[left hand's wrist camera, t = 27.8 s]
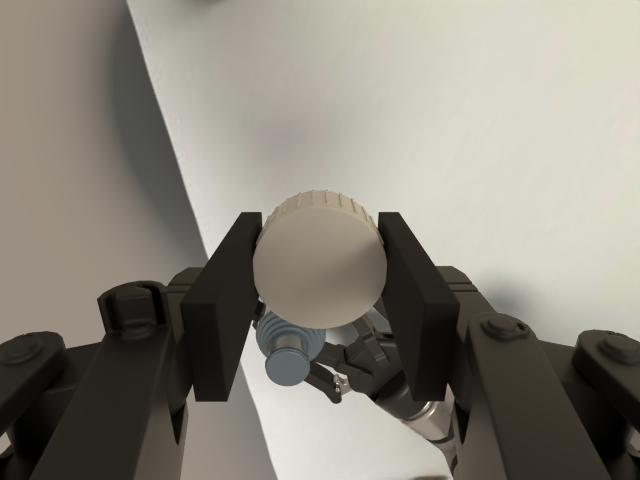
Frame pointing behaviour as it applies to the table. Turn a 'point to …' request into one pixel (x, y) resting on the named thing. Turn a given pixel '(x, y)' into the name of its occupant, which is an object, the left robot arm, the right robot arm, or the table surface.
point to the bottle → (287, 347)
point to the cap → (319, 260)
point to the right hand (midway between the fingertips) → (255, 272)
